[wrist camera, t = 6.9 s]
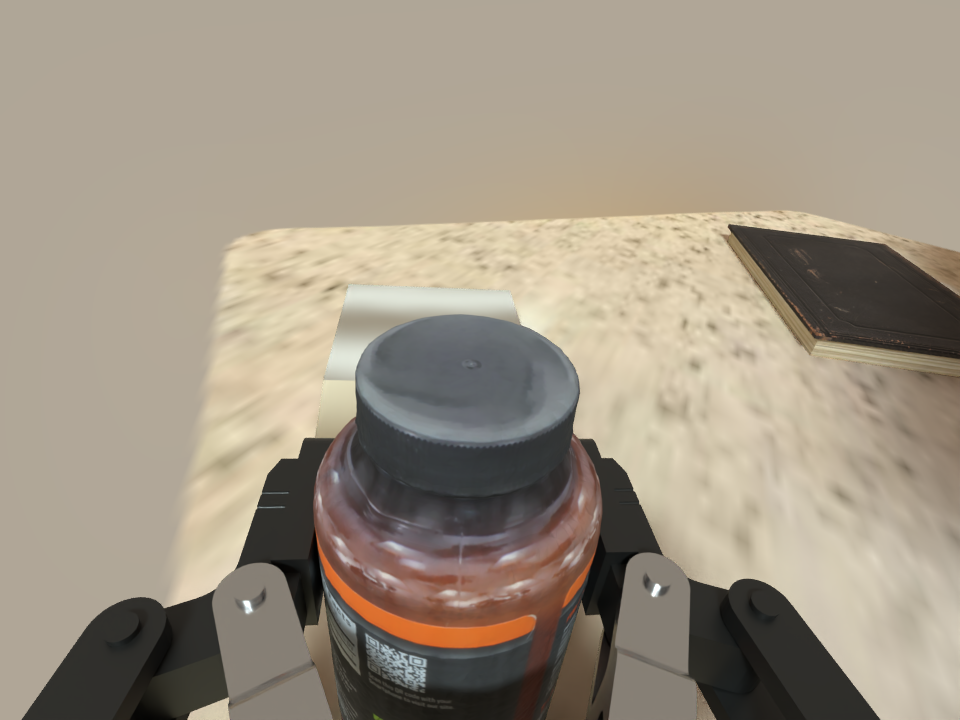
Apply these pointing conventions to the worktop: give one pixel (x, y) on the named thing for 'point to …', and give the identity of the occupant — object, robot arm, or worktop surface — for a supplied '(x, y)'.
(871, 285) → the hardcover book
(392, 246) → the worktop surface
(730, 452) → the worktop surface
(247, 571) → the robot arm
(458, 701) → the supplement bottle
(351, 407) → the ramp bench
